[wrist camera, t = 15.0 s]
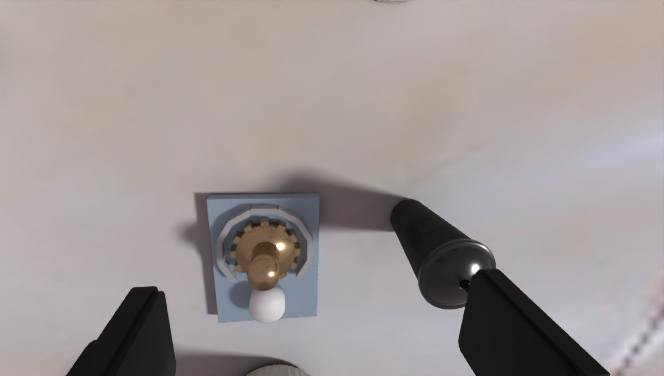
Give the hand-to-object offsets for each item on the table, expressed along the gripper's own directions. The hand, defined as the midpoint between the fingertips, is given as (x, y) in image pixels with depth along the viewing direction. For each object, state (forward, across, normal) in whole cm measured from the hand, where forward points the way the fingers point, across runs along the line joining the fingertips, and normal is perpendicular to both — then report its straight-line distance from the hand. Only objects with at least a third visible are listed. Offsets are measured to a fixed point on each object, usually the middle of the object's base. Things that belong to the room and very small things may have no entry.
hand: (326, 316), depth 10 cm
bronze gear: (+29, +4, +14) cm, 32 cm away
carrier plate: (+30, +4, +16) cm, 35 cm away
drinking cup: (+31, -15, +11) cm, 36 cm away
